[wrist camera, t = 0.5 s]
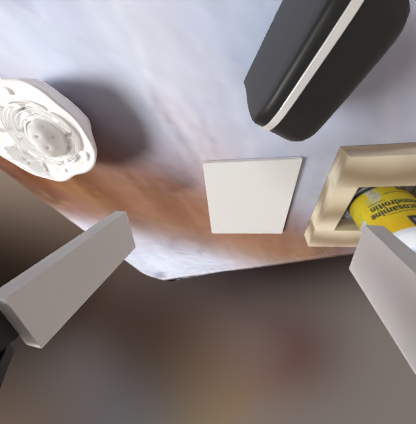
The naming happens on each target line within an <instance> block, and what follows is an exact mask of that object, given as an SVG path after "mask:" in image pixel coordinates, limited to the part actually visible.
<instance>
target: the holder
mask: <svg viewBox="0 0 416 424" xmlns="http://www.w3.org/2000/svg"><path fill="white" fill-rule="evenodd" d="M388 186H416V143H399V144H380V145H361V146H342V147H340V148H339V151H338V153H337V156H336V158H335V161H334V163H333V166H332V168H331V170H330V173H329V175H328V178H327V180H326V183H325V185H324V187H323V190H322V192H321V195H320V197H319V200H318V202H317V204H316V207H315V209H314V212H313V214H312V217H311V219H310V221H309V224H308V226H307V229H306V231H305V234H304V235H305V238H306V241H307V244H308V246H331V247H357V245H358V242H359V240H360V237H361V234H362V233H361V231H360V229H359V228H358V226H357V225H356V223H355V221H354V220H353V218H341V217H342V215H343V214H344V212H345V210H346V208H347V207H348V205H349V203H350V202H351V200H352V198H353V196H354V195H355V193H356V191H357V189H358V188H359V187H388ZM412 195H413V196H414V197H415V198H416V189H415V191H414V192H413V193H412Z"/></svg>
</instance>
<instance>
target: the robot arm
mask: <svg viewBox="0 0 416 424" xmlns="http://www.w3.org/2000/svg"><path fill="white" fill-rule="evenodd" d="M134 248H135V243H134V239H133V235H132V232H131V228H130V224H129V220H128V217H127V213H126V212H124V211H115V212H114V213H112V214H111V215H109V216H108V217H106V218H105V219H103V220H102V221H100V222H98V223H97V224H95V225H94V226H92V227H91V228H89V229H88V230H86V231H85V232H84V233H82V234H80V235H79V236H78V237H76V238H75V239H73V240H71V241H70V242H69V243H67V244H65V245H64V246H62V247H61V248H60V249H58V250H56V251H55V252H53V253H52V254H50V255H49V256H47V257H46V258H44V259H43V260H41V261H40V262H39V263H37V264H35V265H34V266H33V267H31V268H29V269H28V270H26V271H25V272H23V273H22V274H21V275H19V276H17V277H16V278H14V279H13V280H12V281H10V282H8V283H7V284H6V285H4V286H2V287H1V288H0V387H1V384H2V382H3V379H4V377H5V374H6V371H7V369H8V366H9V363H10V361H11V358H12V356H13V353H14V350H15V344H14V342H13V341H14V340H15V339H16V338H17V337H18V336H19V335H20V337H21V338H22V339H23V340H24V342H25V343H26V344H27V345H30V346H35V347H38V348H42V347H43V346H44V345H45V344H46V343H47V342H48V341H49V340H50V339H51V338H52V337H53V336H54V335H55V334H56V332H57V331H58V330H59V329H60V328H61V327H62V326H63V325H64V324H65V323H66V322H67V321H68V320H69V318H70V317H71V316H72V315H73V314H74V313H75V312H76V311H77V310H78V309H79V308H80V307H81V305H82V304H83V303H84V302H85V301H86V300H87V299H88V298H89V297H90V296H91V295H92V294H93V293H94V291H95V290H96V289H97V288H98V287H99V286H100V285H101V284H102V283H103V282H104V280H105V279H107V277H108V276H109V275H110V274H111V273H112V272H113V271H114V270H115V269H116V268H117V267H118V265H120V263H121V262H122V261H123V260H124V259H125V258H126V257H127V256H128V255H129V254H130V253H131V252H132V250H133V249H134ZM349 269H350V271H351V272H352V274H353V275H354V277H355V279H356V280H357V282H358V283H359V285H360V287H361V288H362V290H363V291H364V293H365V295H366V296H367V298H368V299H369V301H370V303H371V304H372V306H373V307H374V309H375V311H376V312H377V314H378V315H379V317H380V318H381V320H382V322H383V323H384V325H385V326H386V328H387V329H388V331H389V333H390V334H391V336H392V338H393V339H394V341H395V342H396V344H397V346H398V347H399V349H400V350H401V352H402V353H403V355H404V357H405V358H406V360H407V361H408V363H409V365H410V366H411V368H412V369H413V371H414V373H415V374H416V253H415V252H414V251H413V250H412V249H411V248H409V247H408V246H407V245H406V244H405V243H403V242H402V241H401V240H400V239H399V238H397V237H396V236H395V235H394V234H393V233H391V232H390V231H389V230H388V229H387V228H385V227H384V226H377V225H365V226H364V228H363V231H362V234H361V237H360V240H359V242H358V245H357V248H356V251H355V254H354V256H353V259H352V262H351V265H350V268H349Z"/></svg>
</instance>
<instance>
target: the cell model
mask: <svg viewBox="0 0 416 424" xmlns="http://www.w3.org/2000/svg"><path fill="white" fill-rule="evenodd" d="M0 156H2V157H3V158H5V159H7V160H9V161H10V162H12V163H14V164H15V165H17V166H19V167H20V168H22V169H24V170H26V171H27V172H29V173H31V174H34V175H36V176H40V177H44V178H47V179H51V180H55V181H67V180H68V179H70V178H71V177H73V176H74V175H77V174H83V173H86V172H88V171H90V170H91V169H92V168H93V167H94V165H95V162H96V158H97V148H96V144H95V141H94V138H93V134H92V130H91V124H90V121H89V119H88V117H87V116H86V115H85V114H84V113H83V112H82V111H81V110H80V109H79V108H78V107H77V106H76V105H75V104H73V103H72V102H71V101H70V100H69V99H67V98H66V97H65V96H63V95H62V94H61V93H59V92H58V91H57V90H56V89H54V88H53V87H52V86H50V85H48V84H47V83H45V82H43V81H41V80H38V79H34V78H0Z"/></svg>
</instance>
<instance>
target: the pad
mask: <svg viewBox="0 0 416 424" xmlns="http://www.w3.org/2000/svg"><path fill="white" fill-rule="evenodd" d="M301 163H302V157H301V156H298V157H277V158H256V159H235V160H214V161H203V169H204V177H205V184H206V192H207V199H208V207H209V214H210V222H211V229H212V233H282V231H283V228H284V224H285V221H286V217H287V213H288V210H289V206H290V203H291V199H292V195H293V192H294V188H295V185H296V181H297V177H298V174H299V170H300V167H301Z"/></svg>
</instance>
